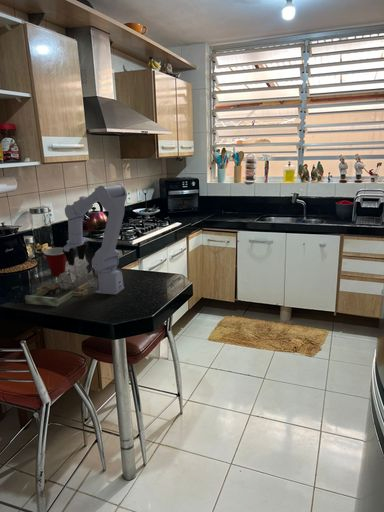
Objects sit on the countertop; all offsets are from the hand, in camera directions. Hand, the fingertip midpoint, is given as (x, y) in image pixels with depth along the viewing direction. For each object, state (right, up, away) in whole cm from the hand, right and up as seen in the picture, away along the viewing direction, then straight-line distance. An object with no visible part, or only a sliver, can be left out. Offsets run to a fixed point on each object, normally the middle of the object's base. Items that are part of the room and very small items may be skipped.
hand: (76, 261), depth 164 cm
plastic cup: (-13, -6, +15) cm, 21 cm away
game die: (-2, -12, -6) cm, 13 cm away
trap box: (-3, -13, -11) cm, 18 cm away
